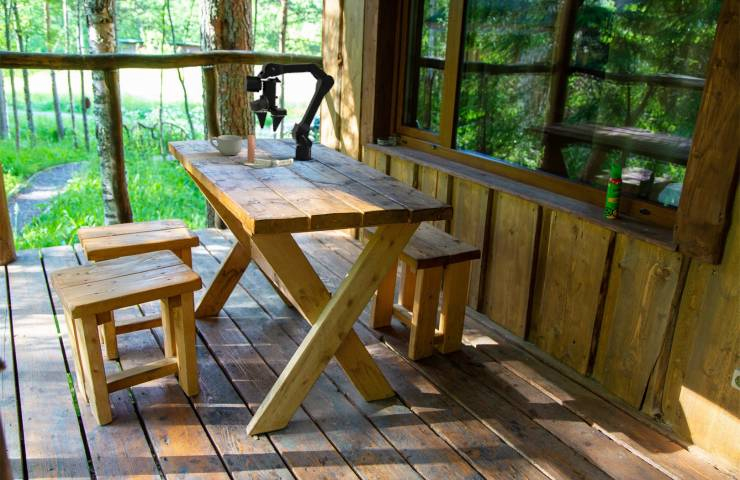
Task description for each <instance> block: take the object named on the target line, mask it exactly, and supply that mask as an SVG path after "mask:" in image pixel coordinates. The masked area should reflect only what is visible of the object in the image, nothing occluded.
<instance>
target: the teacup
mask: <svg viewBox="0 0 740 480" xmlns="http://www.w3.org/2000/svg"><path fill="white" fill-rule="evenodd" d="M213 140H215V141H216V143H217V145H216V144H215V143H214V142H213ZM209 143H210V145H211V146H212V147H213V148H216V150H217V151H219V152H220V153H221V155H223V156H226V155H236V156H238V155H239V154H240V153H241V152H242V149H243V137H242V136H239V135H233V134H224V135H223V134H222V135H219V136H217V137H216V136H213V137H211V138H210V140H209Z"/></svg>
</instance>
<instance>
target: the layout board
mask: <svg viewBox="0 0 740 480" xmlns="http://www.w3.org/2000/svg"><path fill="white" fill-rule="evenodd" d="M258 159H263V160H270V161H274V160H279V161H282V160H281V159H276V158H272V157H262V158H261V157H260V158H258ZM255 161H256V160H255ZM237 162H238V163H237ZM260 162H261V161H260ZM234 163H237V164H240V165H244V166H247V167H249V166H250V168H253V169H255V168H256V170H261V169H270V168H271V169H272V168H277V167H276V165H268V164H261V163H249V162H248V159H241V160H240V159H239V160H234ZM268 163H271V162H268ZM282 163H283V162H282ZM286 166H287V167H288V166H291V165H290V164H282V165H279V167H286ZM279 167H278V168H279Z"/></svg>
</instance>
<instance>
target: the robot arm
mask: <svg viewBox="0 0 740 480" xmlns="http://www.w3.org/2000/svg"><path fill="white" fill-rule="evenodd" d="M300 73H302V74H303V73H310V74H311V76H313V77H312V78H314V79H315V80H316V83H315V90H314V93H313V95H312V98H311V100H310V101H309V104H308V106H307V108H306V111H305V113H304V115H303V117H302V119H301V120H300V122H299V123H297V122H295V123H294V125H293V127H292V129H291V138H292V139H293V140H294V142H295V144H296V146H295V149H294V150H295V153H294V154H295V156H294V157H293V160H297V161H302V162H303V161H313V160H314V158H313V157H312V147H313V143H314V142H313V141H312V140H311V139H310V138H309V136H310V134H311V133H310V132H311V125H312V123H313V121H314V118H315V117H316V114H317V112H318V110H319V108H320V106H321V104H322V102H323V100H324V98H325V96H327V94H328V93H329V92H330V91H331V89H332V88H333V87H334V85H335V79H334V77H333V76H332V75H330V74H328V73H326V72H325V71H324V70H323V69H322V68H321V67H319V66H318V65H317V63H315V62H308V63H305V62H304V63H285V64H284V63H277V62H270V61H268V62H267V61H265V62H264V63H263V64H262V66H261V70H260V71H259V72H258V74H257V75H249V74H245V78H244V82H243V88H244V89H243V91H244V92H245V93H257V94H258V93H260V91H262V93H261V94H260V95H259V98H258V99H255V100H253V101H250V102H249V106H250V111H252V113H253V114H254V115H256V118H257V120H258V123H259V127H260V129H261V130H262V129H264V128H265V123H266V120H267V119H266V118H267V116H268V113H269V114H270V115H269V116H270V118H271V119H272V129H273V130H272V131H273V132H277V130H278V128H279V126H280V124H281V123H282V122H283V119H284V118H286V116H288V110H287V109H286V108H284V107H283V108H282V107H278V105H277V104H276V103H277V100H278V99H279V96H277V84H281V83H282V80H281V79H280V78H279V77H278V76H282V75H286V74H300Z"/></svg>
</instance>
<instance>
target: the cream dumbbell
mask: <svg viewBox="0 0 740 480" xmlns="http://www.w3.org/2000/svg"><path fill="white" fill-rule="evenodd" d="M279 160H280V159H277V160H274V161H275V165H276V167H275V168H279V165H282V164H290V165H289V166H293V165H294V158H288V159H282V160H281V161H279ZM282 162H283V163H282Z"/></svg>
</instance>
